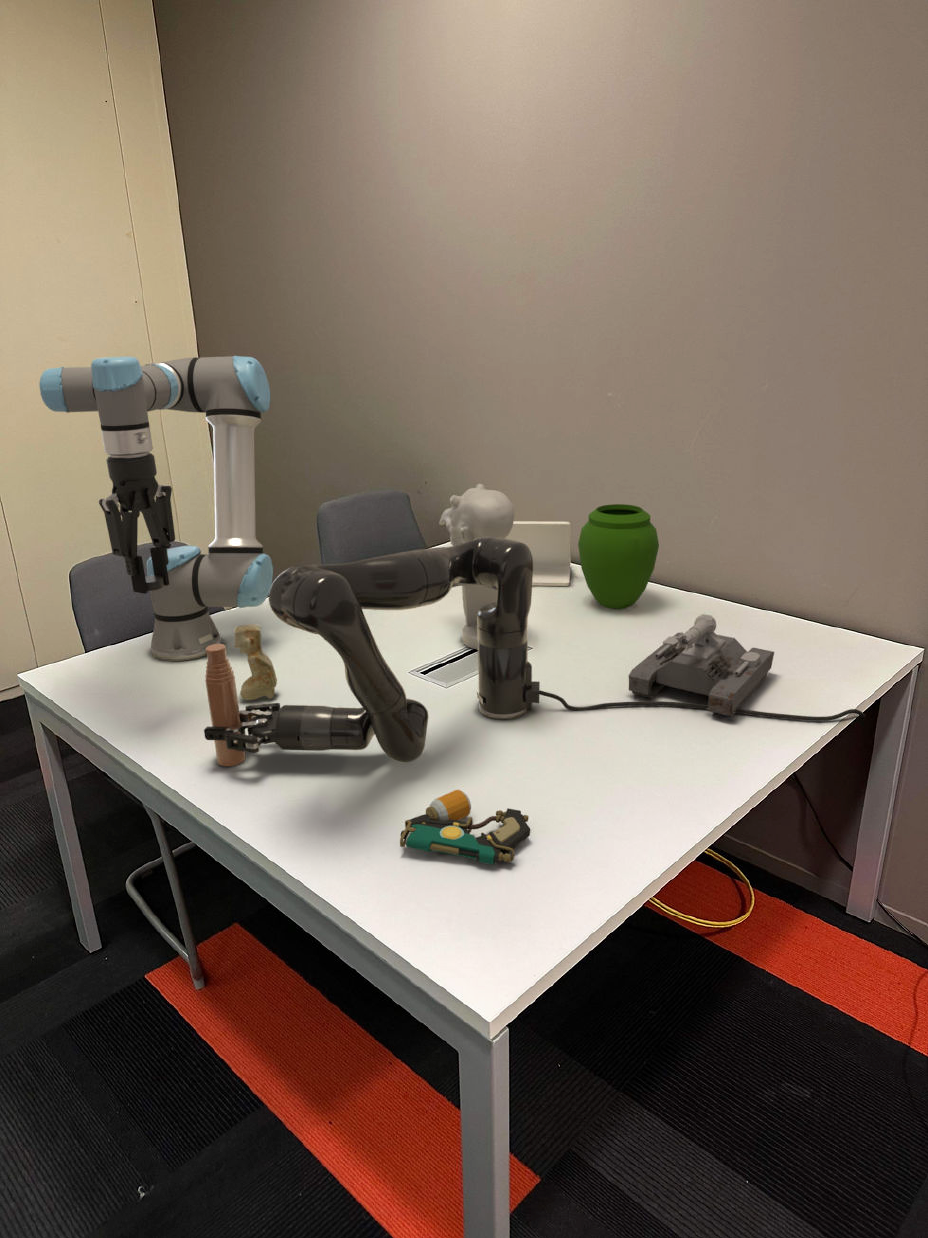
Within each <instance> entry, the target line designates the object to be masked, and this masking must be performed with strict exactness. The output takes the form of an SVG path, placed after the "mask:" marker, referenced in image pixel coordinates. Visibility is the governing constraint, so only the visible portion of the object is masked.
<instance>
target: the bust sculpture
mask: <svg viewBox="0 0 928 1238" xmlns="http://www.w3.org/2000/svg"><path fill="white" fill-rule="evenodd" d="M485 487H486V486H485V485H484V484H482V483H478V484H476V486H475V487H470V488H469V489H467V490H466V491H465V492H464V493H463V494H462V495H461V496H460V495H455V494H452V496H450V498H449V504H450V505H451V507H448V508H446V509H445V510H444V511H443V513H442V514H441V517H440V519H439V522H438V524H439V525H440V526H443V525H446V530H447V531H448V533H449V534H450V538H449V539H450V540H449V543H450V545H451V546H455V545H459V544H462V543H465V542H468V541H471V540H474V539H477V538H481V537H498V538H503V539H505V538H506V537H507V536H508V535H509V533H510V531H511V529H512V526H513V521H515V509H514V505H513V503H512V502H511V500H510V498H508V497H507V495H505V494H504V493H503V492H502V491H499V490H494V489H486V488H485ZM461 587H462V589H461V590H462V591H461V593H462V606H463V607H462V608H463V613H464V617H465V625H464V626H463V627H462V629H461V630H462V631H461V632H462V634H461V635H462V637H461V638H462V643H463V645H465V646H466V647H468V648H471V649H473V650H478V633H477V613H478V611H479V609H480V608H481V607H483V606H485V605H487V604H490V603H494V602H497V593H498V590H495V589H491V588H487V587H483V586H478V585H463V586H461Z"/></svg>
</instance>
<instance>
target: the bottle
mask: <svg viewBox="0 0 928 1238" xmlns="http://www.w3.org/2000/svg"><path fill="white" fill-rule="evenodd" d="M206 654H207V655H206V658H207V662H206V667H205V674H204V675H205V676H204V677H205V679H204V681H205V688H206V694H207V702H208V707H209V708H208V709H209V715H210V721H211V727H227V728H228V727H234V726H239V725H240V724H241V720H240V713H239V711H240V706H239V705H240V704H239V699H238V691H237V684H236V677H235V674H234V670H233V667H232V666H231V663H230V662H229V658H228V657H227V647H226V645H225V644H223V643H221V644H213V645H210V646H208V647H207V648H206ZM233 733H237V734H241V733H240V732H233ZM213 742H214V746H215V748H214V749H215V755H216V763H217V764H218V765H219V766H221V767H235V766H237V765H241V764H242V763H243V762H244V761H245V760H246V752H244V751H239V750H233V749H228V748H227V746H226V745H227V744H226V741H224V740H213ZM236 744H237V743H236Z"/></svg>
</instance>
